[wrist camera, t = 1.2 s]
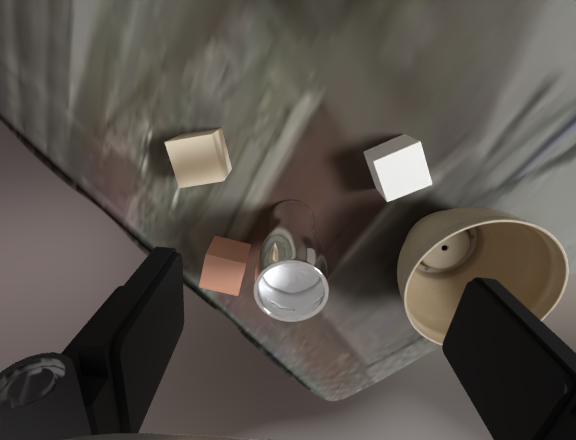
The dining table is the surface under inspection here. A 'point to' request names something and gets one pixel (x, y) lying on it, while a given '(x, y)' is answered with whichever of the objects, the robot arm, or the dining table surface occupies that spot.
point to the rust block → (224, 265)
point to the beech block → (199, 157)
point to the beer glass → (291, 265)
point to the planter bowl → (476, 264)
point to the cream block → (398, 167)
